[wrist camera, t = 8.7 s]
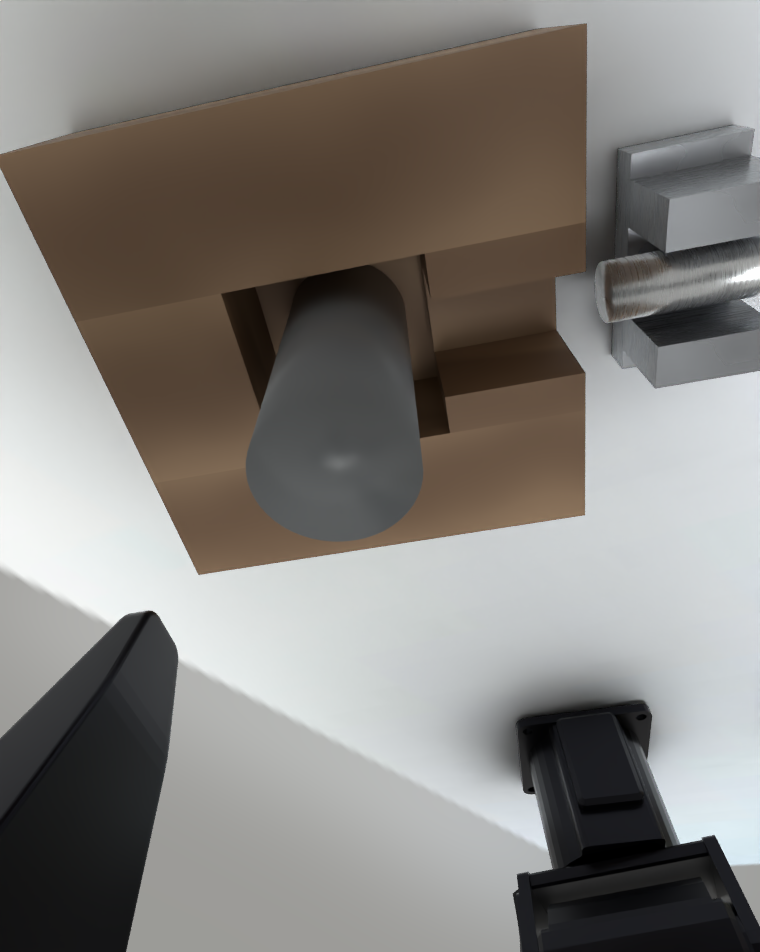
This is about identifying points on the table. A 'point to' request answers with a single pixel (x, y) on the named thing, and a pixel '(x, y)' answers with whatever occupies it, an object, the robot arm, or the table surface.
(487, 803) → the table surface
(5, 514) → the table surface
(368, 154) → the dock
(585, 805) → the robot arm
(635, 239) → the pin mount
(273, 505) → the peg
